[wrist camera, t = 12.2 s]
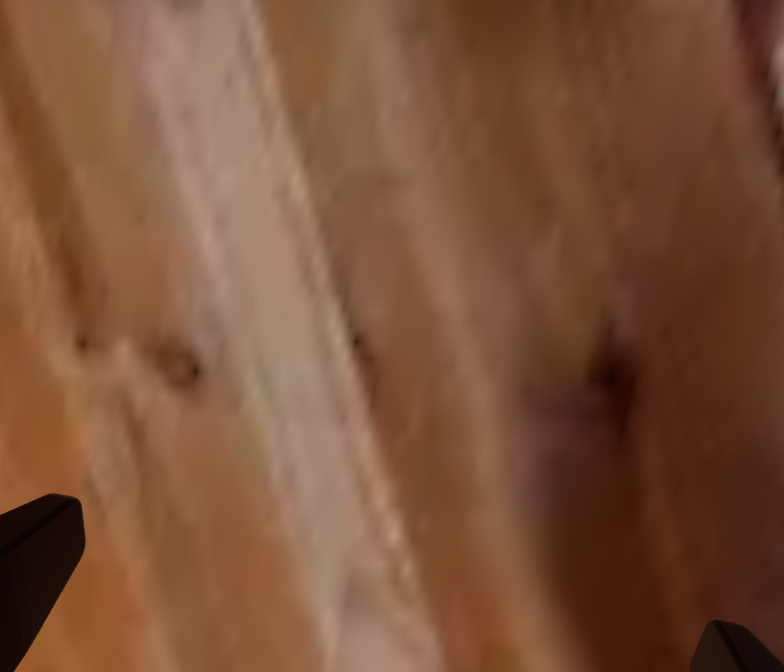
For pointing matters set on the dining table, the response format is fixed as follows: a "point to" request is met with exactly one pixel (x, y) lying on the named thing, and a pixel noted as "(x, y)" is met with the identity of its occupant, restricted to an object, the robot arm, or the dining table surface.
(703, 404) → the dining table surface
